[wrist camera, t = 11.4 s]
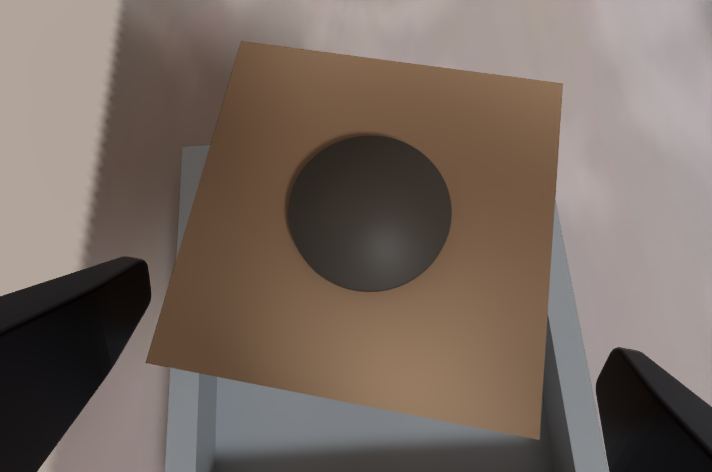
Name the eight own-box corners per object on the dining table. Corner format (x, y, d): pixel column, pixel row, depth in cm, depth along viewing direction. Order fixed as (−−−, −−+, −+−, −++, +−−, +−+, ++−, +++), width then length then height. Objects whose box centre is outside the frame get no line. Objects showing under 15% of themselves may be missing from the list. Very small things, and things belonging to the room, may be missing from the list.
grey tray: (583, 509, 16) (620, 533, 14) (191, 531, 16) (160, 558, 14) (520, 151, 20) (540, 121, 18) (204, 172, 20) (182, 146, 18)
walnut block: (421, 390, 17) (543, 441, 5) (302, 368, 17) (139, 362, 5) (437, 273, 18) (567, 76, 6) (326, 254, 19) (238, 34, 6)
